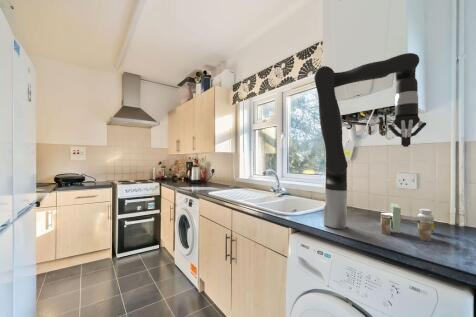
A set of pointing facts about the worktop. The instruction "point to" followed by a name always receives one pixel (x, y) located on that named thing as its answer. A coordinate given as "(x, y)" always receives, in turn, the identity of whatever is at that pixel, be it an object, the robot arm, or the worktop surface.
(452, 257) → the worktop surface
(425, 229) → the pipe stand
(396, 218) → the collar
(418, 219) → the metal pipe
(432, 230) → the supplement bottle
